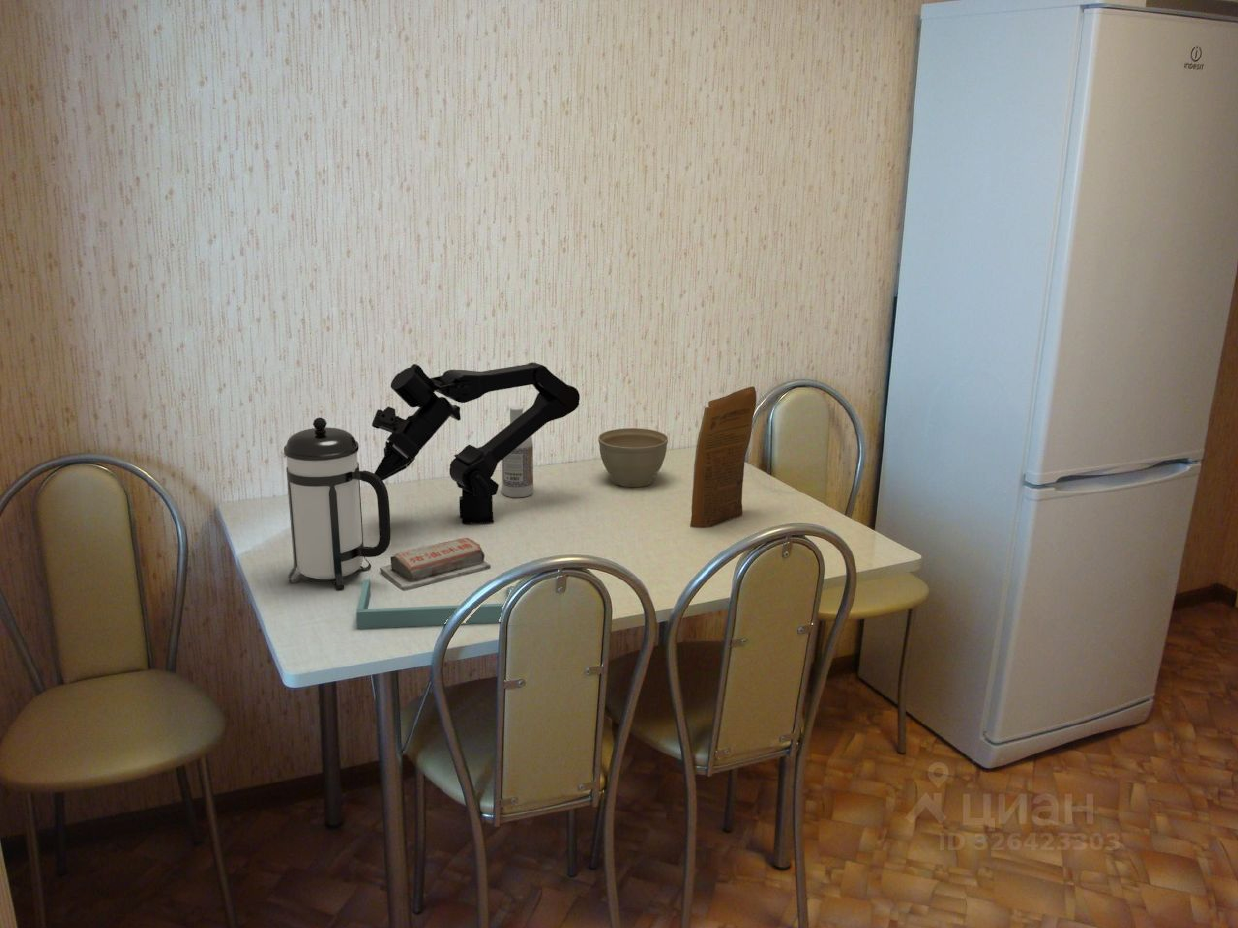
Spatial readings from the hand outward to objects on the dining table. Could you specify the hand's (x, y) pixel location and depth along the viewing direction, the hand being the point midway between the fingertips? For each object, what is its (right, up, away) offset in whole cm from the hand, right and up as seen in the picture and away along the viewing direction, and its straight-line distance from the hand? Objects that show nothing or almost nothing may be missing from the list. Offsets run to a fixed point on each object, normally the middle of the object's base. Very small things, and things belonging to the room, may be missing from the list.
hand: (373, 481), depth 213 cm
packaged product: (+14, -17, -10) cm, 24 cm away
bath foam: (+25, -3, +33) cm, 41 cm away
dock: (+17, -21, -26) cm, 38 cm away
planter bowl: (+51, -1, +42) cm, 66 cm away
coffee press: (-3, -17, -13) cm, 22 cm away
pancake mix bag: (+70, -9, +18) cm, 72 cm away
